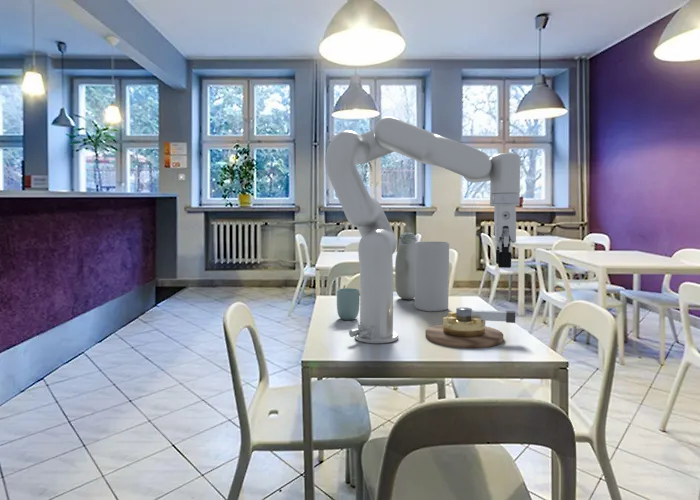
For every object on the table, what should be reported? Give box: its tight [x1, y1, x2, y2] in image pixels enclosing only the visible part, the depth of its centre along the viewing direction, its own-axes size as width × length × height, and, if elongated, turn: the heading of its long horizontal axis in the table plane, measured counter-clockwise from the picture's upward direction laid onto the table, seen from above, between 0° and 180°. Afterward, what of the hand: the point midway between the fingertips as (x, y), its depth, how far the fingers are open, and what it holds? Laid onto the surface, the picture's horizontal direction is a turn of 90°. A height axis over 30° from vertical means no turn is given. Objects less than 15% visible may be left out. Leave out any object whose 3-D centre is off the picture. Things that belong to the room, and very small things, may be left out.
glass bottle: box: [394, 231, 418, 300], centre depth 196 cm, size 10×10×28 cm
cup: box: [336, 287, 360, 321], centre depth 161 cm, size 8×8×10 cm
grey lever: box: [442, 306, 516, 337], centre depth 136 cm, size 20×12×7 cm, turn 76°
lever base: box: [425, 323, 504, 349], centre depth 137 cm, size 22×22×2 cm
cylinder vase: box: [414, 241, 450, 312], centre depth 177 cm, size 12×12×25 cm
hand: (503, 265), depth 127 cm, fingers open, 8 cm apart
